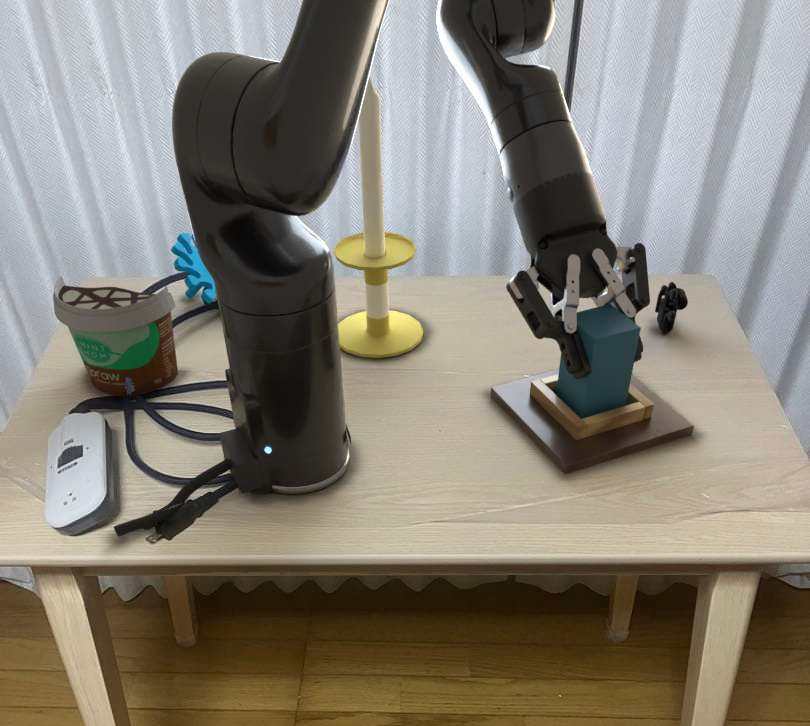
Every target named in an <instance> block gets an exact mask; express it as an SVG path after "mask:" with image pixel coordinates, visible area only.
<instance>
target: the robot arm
mask: <svg viewBox="0 0 810 726" xmlns="http://www.w3.org/2000/svg"><path fill="white" fill-rule="evenodd" d="M389 3H390V0H302V1H301V4H300V8H299V12H298V14H297V18H296V22H295V25H294V27H293V30H292V34H291V37H290V39H289V42H288V45H287V47H286V49H285V52H284V55H283V56H282V57H281V60H280V61H279V60H275V59H269V58H263V57H258V56H252V55H247V54H242V53H241V54H240V53H235V52H227V51H214V52H210V53H205V54H204V55H201V56H199V57H198V58H196V59H195V60H193V62H191V63H190V64H189V66H188V67H186V69H185V71H184V72H183V73H182V75H181V77H180V79H179V80H178V85H177V87H176V89H175V94H174V97H173V104H172V113H171V135H172V145H173V152H174V158H175V163H176V169H177V174H178V177H179V181H180V185H181V190H182V193H183V198H184V202H185V206H186V211H187V215H188V219H189V223H190V226H191V230H192V234H193V235H194V239H195V243H196V247H197V250H198V253H199V256H200V258H201V260H202V262H203V264H204V266H205V267H206V269H207V270H208V272H209V273H210V275H211V276H212V278H213V281H214V285H215V290H216V292H215V294H216V298H217V304H218V309H219V310H218V311H219V317H220V321H221V326H222V333H223V338H224V343H225V350H226V355H227V360H228V365H229V367H228V368H226V369H225V370H224V374H225V380H226V385H227V390H228V396H229V403H230V407H231V412H232V417H233V418H232V419H233V423H234V428H233V429H229V430H225V431H222V432H219V439H220V445H221V448H222V450H221V451H222V454H223V460H222V461H220V462H218V463H217V464H215V465H213V466H212V467H210V468H208V469H206V470H204V471H202V472H201V473H199V474H198V475H196V476H194V477H193V478H192V479H190V480H189V481H188V482H186V483H185V484H184V486H182V487H181V489H179V490H178V492H177V494H176V495H175V496H174V497H173V499H172V500H171V501H169V502H168V503H167V504H165V506H163V507H161V508H160V509H158V510H156V511H154V512H151V513H149V514H146V515H144V516H141V517H138V518H134V519H131V520H128V521H125V522H122V523H120V524H117V525H114V526H113V529H114V532H115V534H116V536H117V537H118V538H119V537H121V536H124V535H128V534H130V533H133V532H136V531H138V530H141V529H142V530H143V529H145V528H148V527H150V526H151V527H152V526H153V525H155V524H156V525H157V524H159V523H160V522H162V521H164V520H166V519H168V518H170V517H171V516H172V515H174V514H175V513H177V512H178V511H179V510H180V509H181V508H182V507H183V506H184V504H185V503H186V501H188V499H189V498H190V497H191V495H192V494H193V493H195V492H196V491H197V490H198V489H200V488H201V487H203V486H204V485H206V484H207V483H209V482H211V481H212V480H214V479H216V478H217V477H219V476H221V475H223V474H225V473H226V472H228V471H229V473H230V474H231V476H232V478H233V480H234V483H235V484H236V485H237V488H238V491H239V492H240V494H244V493H247V492H250V491H251V492H252V491H254V490H257V492H258V494H260V495H266V494H269V493H279V494H285V495H300V494H308V493H313V492H316V491H319V490H321V489H324V488H326V487H329V486H330V485H332V484H334V483H335V482H337V481H338V480H339V479H340V478H342V477H343V476H344V475H345V473H346V471H347V470H348V467H349V464H350V460H351V459H350V448H349V444H352V436H351V433H350V431H349V426H348V424H347V419H346V407H345V396H344V395H345V394H344V383H343V370H342V368H343V367H342V356H341V348H340V341H339V328H338V324H339V316H338V302H337V291H336V279H335V278H336V277H335V266H334V259H333V255H332V252H331V251H330V249H329V247H328V245H327V244H326V243H325V241H324V240H323V239H322V238H321V237H320V236H319V235H317V234H316V233H315V232H314V231H312V230H311V229H310V228H309V227H308V226H307V225H306V224H305V223H303V222H302V221H301V219H299V217H304V216H306V215H310V214H312V213H314V212H316V211H317V210H318V209H319V208H320V207H321V206H323V205H324V204H325V203H326V201H327V200H328V198H329V197H330V196H331V195H332V193H333V192H334V189H335V188H336V186H337V184H338V182H339V180H340V178H341V176H342V172H343V170H344V168H345V165H346V162H347V159H348V158H349V155H350V151H351V149H352V148H351V147H352V144H353V141H354V136H355V133H356V129H357V127H358V118H359V114H360V110H361V106H362V102H363V98H364V94H365V90H366V86H367V82H368V78H369V74H370V75H371V71H372V70H371V69H372V66H373V61H374V58H375V54H376V50H377V46H378V42H379V38H380V33H381V30H382V26H383V23H384V20H385V16H386V13H387V10H388V6H389ZM556 5H557V4H556V0H438V3H437V9H436V27H437V33H438V37H439V40H440V43H441V45H442V47H443V49H444V52H445V54H446V55H447V57H448V59H449V61H450V62H451V64H452V65H453V67H454V69H455V70H456V71H457V73H458V74H459V75H460V77H461V78H462V80H463V81H464V83H466V85H467V87H468V89H469V90H470V92H471V93H472V95H473V97H474V98H475V100H476V102H477V104H478V105H479V107H480V108H481V110H482V113H483V114H484V116H485V118H486V120H487V124H488V126H489V129H490V132H491V134H492V135H491V136H492V138H493V142H494V144H495V147H496V151H497V153H498V157H499V162H500V165H501V170H502V176H503V179H504V181H503V182H504V185H505V188H506V191H507V196H508V199H509V201H510V204H511V207H512V210H513V213H514V216H515V219H516V222H517V225H518V229H519V231H520V235H521V238H522V241H523V244H524V247H525V250H526V252H527V254H529V256H530V265H529V268H528V269H527V270H519V271H518V272H517V273H516V274H515V275H514V276H512V278H510V279H509V280H508V281H507V282H506V284H505V288H506V291H507V292H508V294H509V295H510V297H511V299H512V301H513V303H514V304H515V306H516V308H517V309H518V311H519V312H520V314H521V316H522V318H523V319H524V321H525V322H526V324H527V326H528V328H529V329H530V331H531V332H532V334H533V336H534V338H536V339H538V340H542V339H551V340H554V341H556V343H557V344H558V347H559V351H560V355H561V354H562V357H563V360H564V363H565V366H566V370H567V371H568V372H569V374H573V376H574V378H575V379H579V378H583V377H585V376H587V375H589V374H590V373H591V371H592V369H591V367H590V364H589V360H588V357H587V354H586V351H585V348H584V345H583V342H582V338H581V335H580V333H577V334H576V332H575V331H576V330H577V312H578V307H579V306H580V299H591V300H592V301H593V303H594V304H595V305H596V307H600V306H603V305H607V304H611V305H612V306H614V307H615V308H616V309H618V310H619V311H620V312H621V313H623V314H624V315H625V316H627V317H628V318H629V319H630V320H632V321H633V322H634V323H636V324H637V322H636V316H637V315H638V313H639V312H641V311H642V310H643V309H645V308H647V307H648V306H649V305H650V304H651V296H650V284H649V273H648V262H647V251H646V250H647V249H646V246H645V245H644V244H643V243H641V242H637V243H635V244H634V245H632V246H617V244H616V243H615V241H614V240H613V239H612V238H611V237H610V235H609V233H608V229H607V215H606V212H605V210H604V206H603V202H602V200H601V197H600V195H599V194H600V193H599V191H598V187H597V184H596V181H595V178H594V175H593V172H592V169H591V166H590V163H589V160H588V155H587V153H586V150H585V148H584V145H583V142H582V141H581V139H580V137H579V135H578V133H577V130H576V128H575V126H574V122H573V119H572V116H571V113H570V110H569V106H568V104H567V100H566V97H565V95H564V91H563V88H562V85H561V81H560V80H559V78H558V75H557V74H556V72H555V71H554V70H553V69H552V68H550V67H549V66H545V65H543V64H542V65H541V64H526V63H525V64H523V63H515V62H513V61H509V60H507V59H510V58H514V57H518V56H521V55H525V54H529V53H532V52H535V51H537V50H539V49H540V48H542V47H543V46H544V45H545V44H546V42H547V41H548V40H549V38H550V36H551V33H552V31H553V29H554V25H555V23H556V15H557V6H556ZM615 264H616V265H617V268H616V269H617V271H618V272H621V279H620V278H619V276H618V274H617V273H616V271H615V269H614V267H615ZM539 284H540V285H541V286H542V287H543V288H545V289H546V290H547V291H548V292H549V306H548V305H547V303H546V301H545V299H544V298H543V296H542V294H541V292H540V291H539V288H540V285H539ZM606 288H607V291H605V290H606ZM640 334H641V333H640ZM640 334H639V340H638V345H637V350H636V355H635V359H634V364H635V363H637V362H639V361H640V360H642V357H643V356H642V354H643V353H644V343H643V341H642V337H641V335H640ZM348 440H349V441H348ZM180 503H183V504H181V505H179V506H177V507H175V508H171V509H167V508H169V507H170V506H173V505H176V504H180ZM164 509H167V510H164ZM163 510H164V511H163Z"/></svg>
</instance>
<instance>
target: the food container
mask: <svg viewBox="0 0 810 726" xmlns="http://www.w3.org/2000/svg"><path fill="white" fill-rule="evenodd" d="M52 301H53V311H54V315H55V318H56V319H57V320H58V321H59V322H60V323H61V324H63V325H64V326H66V327H67V328H68V330H69V333H70V335H71V337H72V340H73V343H74V345H75V347H76V349H77V351H78V354H79V356H80V358H81V361H82V363H83V365H84V368H85V370H86V372H87V375H88V377H89V380H90V381H91V384H92V386H93V387H94V388H95V389H96V390H97V391H99V392H100V393H103V394H106V395H109V396H116V397H132V396H133V397H134V396H140V395H144V394H148V393H152V392H155V391H156V390H159V389H161V388H163V387H165V386H167V385H168V384H170V383H172V382H173V380H175V379H176V378H177V376H178V375H179V370H178V361H177V353H176V345H175V336H174V327H173V319H172V311H173V310H174V309H176V307H177V305H176V302H175V300H174V297H173V295H172V292H170V291H169V288H168V286H165V287H164V288H162V289H161V290H160V291H159V292H157V293H147V292H139V291H135V290H130V289H126V288H121V287H117V286H101V287H99V286H98V287H82V286H71V285H66V283H65V280H64V279H63V276H60V277H59V278H57V280H56V282H55V283H54V287H53V293H52ZM126 377H130V378H131V379H132V381H133V383H134V385H135V387H134V388H135V391H134V392H132V393H131V395H130V394H127V389H126V388H125V387H126V383H125V378H126Z"/></svg>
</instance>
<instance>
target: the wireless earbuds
mask: <svg viewBox="0 0 810 726" xmlns="http://www.w3.org/2000/svg"><path fill="white" fill-rule="evenodd" d="M688 303H689V300H688V297H687V294H686V291H685V290H684V288H681V287H677V285H676V283H675V282H674V281H670V282H669V283H668V286H667V284H663V285H661V287H660V290H659V292H658V295H657V299H656V303H655V309H654V313H656V314H657V316H656V322H657V325H658V329H659V331H660V334H661V335H662V336H665V335H666V334H669V333H670V332H672V330H673V329H674V325H675V322H676V318H677V312H678V311H683V310H685V309H686V308H687V307H688Z"/></svg>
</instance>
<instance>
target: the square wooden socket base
mask: <svg viewBox="0 0 810 726" xmlns="http://www.w3.org/2000/svg"><path fill="white" fill-rule="evenodd" d="M558 375H559V368H557V369H553V370H549V371H545V372H541V373H537V374H535V375H531V376H526V377H524V378H523V377H522V378H519V379H516V380H512V381H509V382H506V383H502V384H498V385H494V386H491V387H490V396H491V398H492V399H493V400H494V401H495V402H496V403H497V404H498V405H499V406H500V407H501V408H502V409H503V410H504V412H505V413H507V414H508V416H509V417H510V418H511V419H512V421H514V422H515V423H516V424H517V425H518V426H519V428H521V429H522V431H524V432H525V433H526V435H527V436H528V437H529V438H530V440H532V441H533V442H534V443H535V445H537V446H538V447H539V448H540V450H541V451H543V453H545V455H546V456H547V457H548V458H549V459H550V460H551V461H552V462H553V463H554V465H556V466H557V467H558V469H559V470H561V471H562V473H563V474H564V475H568V474H571V473H574V472H577V471H581V470H584V469H587V468H590V467H593V466H597V465H600V464H603V463H607V462H609V461H612V460H614V459H619V458H621V457H624V456H627V455H631V454H634V453H637V452H640V451H643V450H646V449H650V448H653V447H657V446H659V445H662V444H665V443H668V442H672V441H675V440H677V439H681V438H684V437H688V436H691V435H693V432H694V429H695V425H694V424H693V423H692V422H690V421H689V420H688V419H687V418H685V416H683V414H681V413H680V412H678V411H677V410H676V409H675V408H673V406H671V405H670V404H669V403H667V402H666V401H665V400H664V399H663V398H661V396H659V394H657V393H655V392H654V391H653V390H652V389H651V388H649V386H647V385H646V384H645V383H644V382H642V381H641V380H640V379H639V378H637V376H635V375H634V374H633V373H632V376H631V381H630V387H629V392H628V397H627V402H626V406H623V407H620V408H617V409H613V410H610V411H607V412H603V413H600V414H597V415H593V416H590V417H586V418H583V419H581V418H580V417H579V416H578V415H577V414H575V413H574V412H573V411H572V410H571V409H570V408H569V407H568V406H567V405H566V404H565V403H564V402H563V401H562V400H561V399H560V398H559V397H558V396H557V395H556V391H557V383H558Z"/></svg>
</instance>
